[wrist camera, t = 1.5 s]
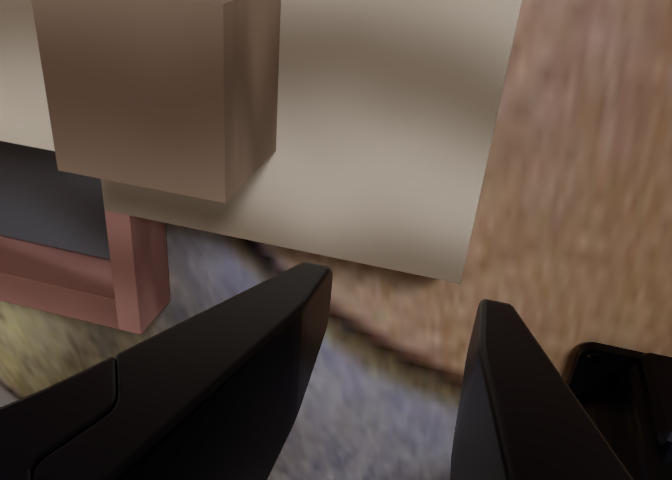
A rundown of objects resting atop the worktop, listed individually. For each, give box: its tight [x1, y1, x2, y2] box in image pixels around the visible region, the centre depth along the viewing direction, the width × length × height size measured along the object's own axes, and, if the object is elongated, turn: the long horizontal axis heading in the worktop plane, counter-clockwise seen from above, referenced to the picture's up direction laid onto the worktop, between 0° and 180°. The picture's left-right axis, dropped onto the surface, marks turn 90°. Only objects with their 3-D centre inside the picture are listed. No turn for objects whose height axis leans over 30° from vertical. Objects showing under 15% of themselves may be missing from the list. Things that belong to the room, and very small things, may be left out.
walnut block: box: [31, 0, 281, 203], centre depth 17 cm, size 5×5×4 cm
